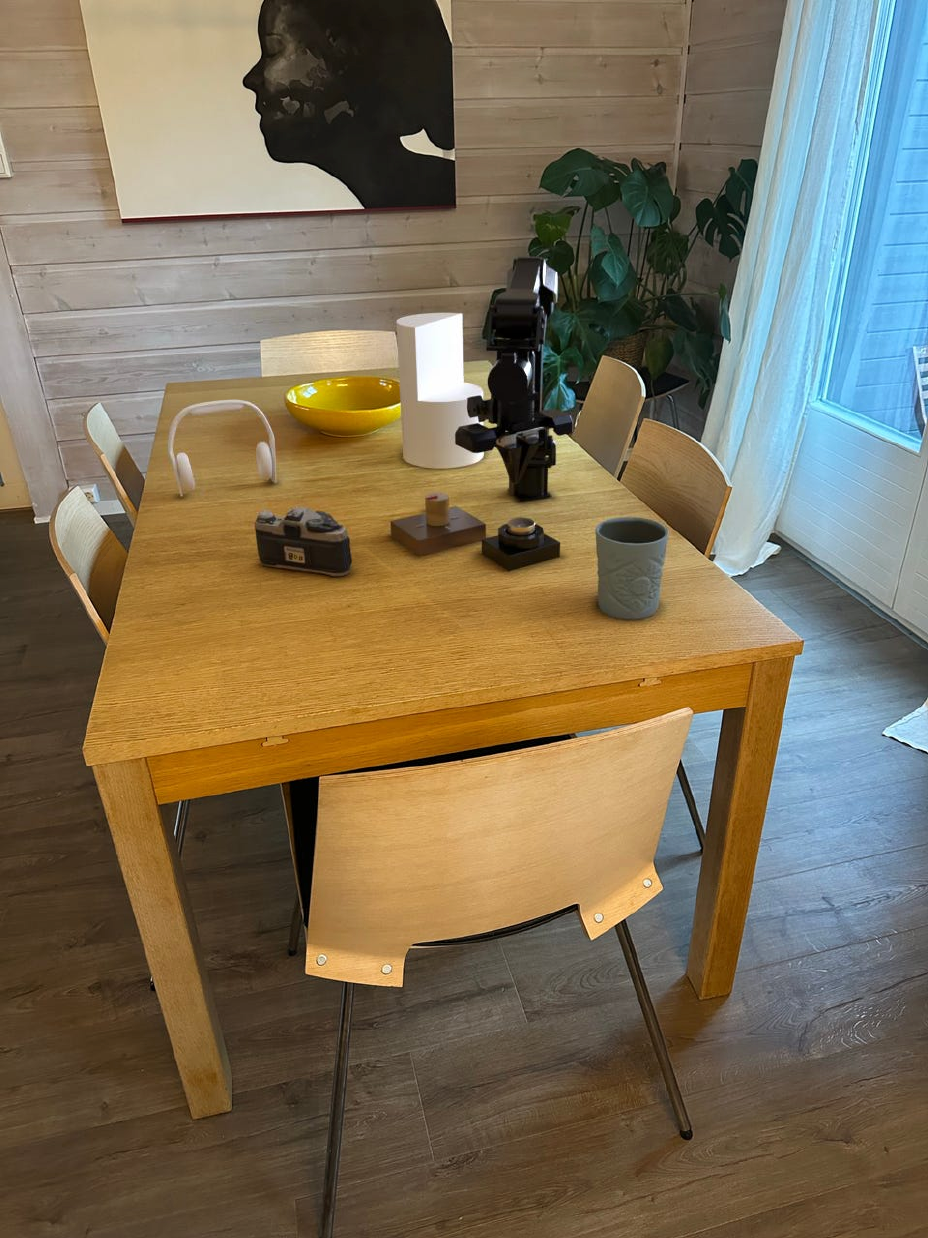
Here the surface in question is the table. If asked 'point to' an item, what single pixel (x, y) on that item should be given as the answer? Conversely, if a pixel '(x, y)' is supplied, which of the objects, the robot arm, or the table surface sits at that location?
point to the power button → (520, 527)
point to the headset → (263, 453)
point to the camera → (303, 542)
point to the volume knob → (437, 509)
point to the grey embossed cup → (630, 566)
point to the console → (437, 532)
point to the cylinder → (433, 390)
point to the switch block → (520, 548)
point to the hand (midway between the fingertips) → (514, 482)
